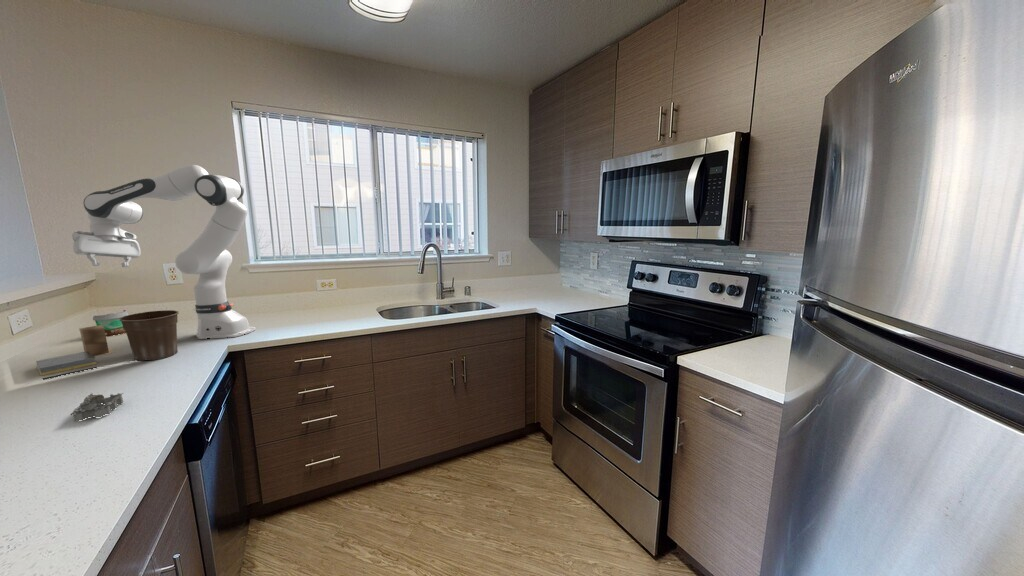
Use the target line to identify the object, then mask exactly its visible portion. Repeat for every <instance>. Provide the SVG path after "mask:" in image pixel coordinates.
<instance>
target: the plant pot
mask: <svg viewBox="0 0 1024 576" xmlns="http://www.w3.org/2000/svg"><path fill="white" fill-rule="evenodd" d="M179 313H180V312H179V311H178V310H175V309H169V310H168V309H165V310H151V311H144V312H138V313H132V314H129V315H127V316H123V317H121V318H119V320H120V321H121V322H122V325H123V328H124V330H126V333H125V334H126V336H127V340H128V342H129V345H130V349H131V353H132V355H133V358H134V360H135V361H138V362H145V361H147V360H148V361H156V360H162V359H165V358H169V357H172V356H174V355H175V354H177V353H178V352H179V351H178V333H177V332H178V328H177V323H178V322H179V321H178V315H179Z"/></svg>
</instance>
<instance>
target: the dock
mask: <svg viewBox="0 0 1024 576" xmlns="http://www.w3.org/2000/svg"><path fill="white" fill-rule="evenodd" d="M95 357H96V356H93V355H92V354H91V353H89V352H88V351H86V352H84V351H82V352H77V353H71V354H66V355H61V356H56V357H50V358H45V359H41V360H40V359H39V360H36V361H35V362H36V368H37V370H38V372H39V375H40V376H42V377H43V376H47V375H51V376H48V377H43V378H41V379H43V381H45V380H49V378H50V379H53V378H54V377H55V378H58V376H59V377H62V376H61V375H64V376H67V375H66V374H68V375H71V374H70V373H73V374H76V373H75V372H78V373H81V372H80V371H82V372H85V371H84V370H87V371H89V370H88V369H91V370H94V369H93V368H96V369H97V366H95V365H97V361H96V358H95ZM89 366H92V367H89ZM93 366H94V367H93ZM84 367H88V368H85V369H81V368H84ZM75 369H80V370H75ZM71 370H75V371H71ZM66 371H70V372H66ZM62 372H65V373H62ZM56 373H61V374H56ZM52 374H56V375H52ZM55 378H54V379H55Z"/></svg>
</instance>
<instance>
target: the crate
mask: <svg viewBox="0 0 1024 576" xmlns="http://www.w3.org/2000/svg"><path fill="white" fill-rule="evenodd" d="M104 329H105V328H104V327H103V326H102V325H98V326H97V325H93V326H87V327H81V328H80V327H79V328H78V330H79V332H80V337H81V341H82V346H83V350H84V351H83V352H86V351H88V352H89V353H91V354H92V355H93V356H94V357H96V356H95V355H99V356H101V355H100V354H104V355H106V354H105V353H109V350H108V349H109V346H108V341H107V340H108V339H107V337H106V335H105V330H104ZM109 354H110V353H109Z"/></svg>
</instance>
